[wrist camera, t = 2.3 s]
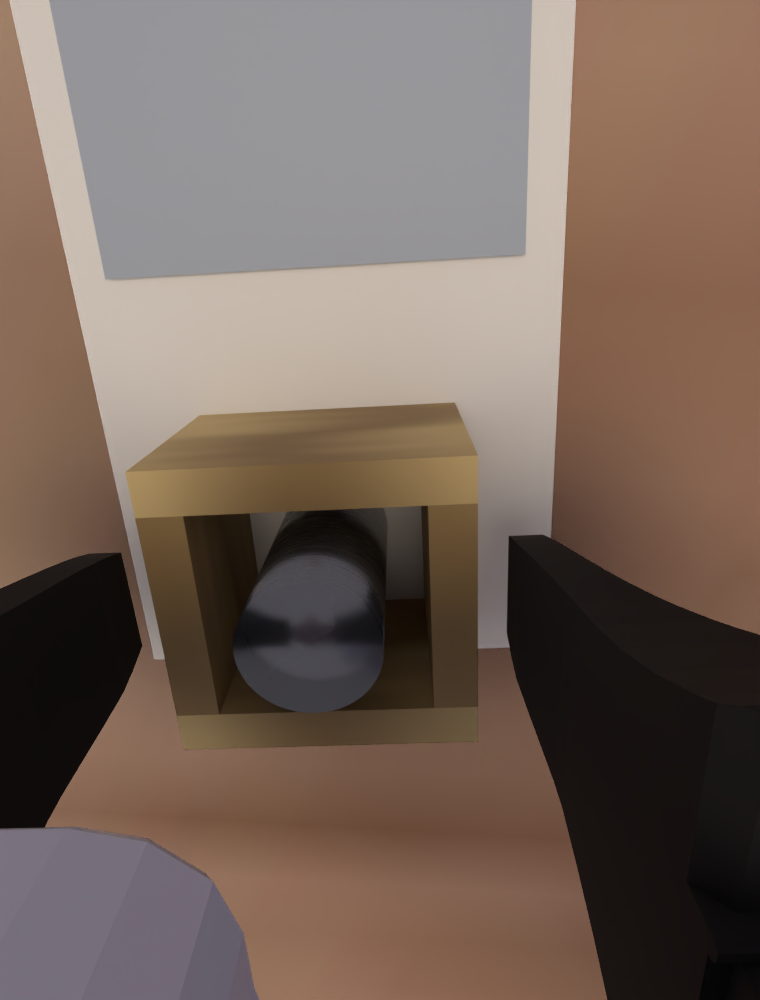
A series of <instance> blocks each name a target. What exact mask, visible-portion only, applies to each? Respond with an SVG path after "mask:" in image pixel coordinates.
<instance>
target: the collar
mask: <svg viewBox="0 0 760 1000" xmlns="http://www.w3.org/2000/svg"><path fill="white" fill-rule="evenodd" d="M125 474H126V478H127V483H128V488H129V493H130V497H131V502H132V507H133V511H134V516H135V521H136V526H137V530H138V535H139V540H140V544H141V549H142V554H143V559H144V563H145V568H146V573H147V577H148V582H149V587H150V591H151V596H152V601H153V606H154V610H155V615H156V620H157V624H158V629H159V634H160V639H161V643H162V648H163V653H164V657H165V662H166V667H167V671H168V676H169V681H170V686H171V690H172V695H173V700H174V704H175V709H176V714H177V719H178V723H179V728H180V733H181V737H182V742H183V747H184V750H189V749H226V748H262V747H299V746H335V745H371V744H408V743H444V742H478V454H477V452H476V450H475V448H474V445H473V443H472V441H471V438H470V436H469V434H468V432H467V429H466V427H465V425H464V422H463V420H462V418H461V416H460V413H459V411H458V409H457V406H456V404H455V402H454V403H434V404H414V405H394V406H374V407H354V408H334V409H314V410H294V411H274V412H254V413H234V414H214V415H199V416H198V417H197V418H195V419H194V420H193V421H191V422H190V423H189V424H187V425H186V426H185V427H183V428H182V429H181V430H180V431H178V432H177V433H176V434H174V435H173V436H172V437H170V438H169V439H168V440H166V441H165V442H164V443H163V444H161V445H160V446H159V447H157V448H156V449H155V450H153V451H152V452H151V453H149V454H148V455H147V456H145V457H144V458H143V459H142V460H140V461H139V462H138V463H136V464H135V465H134V466H132V467H131V468H130V469H128V470H127V471H126V472H125ZM407 506H421V514H422V543H423V572H424V598H422V599H395V600H385V632H384V659H383V665H382V668H381V671H380V674H379V676H378V678H377V680H376V681H375V683H374V684H373V686H372V687H371V688H370V689H369V690H368V691H367V692H366V693H365V694H364V695H363V696H362V697H361V698H359V699H358V700H356V701H355V702H353V703H351V704H349V705H347V706H345V707H343V708H340V709H337V710H333V711H328V712H321V713H304V712H296V711H292V710H288V709H285V708H282V707H279V706H277V705H275V704H273V703H271V702H269V701H267V700H266V699H264V698H263V697H261V696H260V695H259V694H257V693H256V692H255V691H254V690H253V689H252V688H251V687H250V686H249V685H248V684H247V682H246V681H245V680H244V679H243V677H242V675H241V674H240V672H239V670H238V667H237V665H236V662H235V658H234V654H233V636H234V632H235V628H236V625H237V623H238V621H239V618H240V616H241V614H242V611H243V609H244V607H245V605H246V602H247V600H248V598H249V596H250V593H251V591H252V589H253V587H254V584H255V582H256V580H257V578H258V570H257V563H256V555H255V548H254V541H253V534H252V527H251V520H250V513H269V512H292V511H315V510H338V509H361V508H384V507H407Z"/></svg>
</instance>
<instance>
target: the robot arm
mask: <svg viewBox="0 0 760 1000" xmlns="http://www.w3.org/2000/svg"><path fill="white" fill-rule="evenodd" d="M507 637H508V642H509V647H510V651H511V656H512V661H513V665H514V670H515V674H516V678H517V681H518V684H519V687H520V690H521V693H522V695H523V698H524V701H525V704H526V706H527V709H528V712H529V715H530V717H531V720H532V723H533V726H534V728H535V731H536V734H537V736H538V739H539V742H540V745H541V747H542V750H543V753H544V755H545V758H546V761H547V764H548V766H549V769H550V772H551V774H552V777H553V780H554V783H555V786H556V789H557V792H558V795H559V799H560V802H561V805H562V808H563V812H564V816H565V820H566V824H567V828H568V832H569V836H570V840H571V844H572V848H573V852H574V856H575V860H576V864H577V868H578V872H579V876H580V881H581V885H582V889H583V893H584V898H585V902H586V906H587V910H588V914H589V919H590V923H591V927H592V931H593V936H594V940H595V945H596V949H597V954H598V959H599V963H600V968H601V972H602V977H603V981H604V986H605V990H606V995H607V999H608V1000H760V635H758V634H755V633H751V632H748V631H745V630H742V629H738V628H735V627H732V626H729V625H726V624H723V623H721V622H718V621H715V620H712V619H709V618H707V617H704V616H702V615H699V614H697V613H694V612H692V611H689V610H687V609H684V608H682V607H679V606H677V605H674V604H672V603H670V602H667V601H665V600H663V599H661V598H658V597H656V596H654V595H652V594H650V593H648V592H646V591H644V590H642V589H640V588H638V587H636V586H634V585H632V584H630V583H628V582H626V581H624V580H622V579H621V578H619V577H617V576H615V575H613V574H611V573H610V572H608V571H606V570H604V569H603V568H601V567H599V566H597V565H596V564H594V563H592V562H591V561H589V560H587V559H585V558H584V557H582V556H580V555H579V554H577V553H575V552H574V551H572V550H570V549H569V548H567V547H565V546H564V545H562V544H560V543H559V542H557V541H555V540H553V539H551V538H549V537H547V536H545V535H519V536H509V542H508V590H507ZM141 648H142V643H141V639H140V634H139V630H138V625H137V621H136V617H135V612H134V608H133V603H132V599H131V595H130V590H129V586H128V581H127V577H126V573H125V568H124V564H123V559H122V555H121V553H98V554H87V555H83V556H79V557H76V558H73V559H70V560H67V561H64V562H62V563H59V564H57V565H54V566H52V567H49V568H47V569H44V570H42V571H40V572H37V573H35V574H33V575H31V576H28V577H26V578H24V579H21V580H19V581H17V582H15V583H12V584H10V585H8V586H6V587H3V588H1V589H0V1000H259V998H258V996H257V993H256V991H255V988H254V984H253V979H252V974H251V969H250V964H249V959H248V954H247V949H246V943H245V938H244V933H243V932H242V930H241V928H240V926H239V925H238V923H237V921H236V920H235V918H234V916H233V915H232V913H231V911H230V910H229V908H228V906H227V904H226V903H225V901H224V899H223V898H222V896H221V894H220V893H219V891H218V889H217V888H216V886H215V884H214V882H213V881H212V880H211V879H210V878H209V877H208V876H207V874H206V873H204V872H202V871H201V870H199V869H198V868H196V867H194V866H193V865H191V864H189V863H188V862H186V861H184V860H183V859H181V858H179V857H178V856H176V855H174V854H173V853H171V852H170V851H168V850H166V849H165V848H163V847H161V846H160V845H158V844H156V843H155V842H153V841H151V840H150V839H147V838H141V837H135V836H129V835H123V834H118V833H112V832H106V831H100V830H94V829H88V828H82V827H49V828H44V827H45V825H46V823H47V821H48V819H49V818H50V816H51V814H52V812H53V810H54V808H55V807H56V805H57V803H58V801H59V799H60V797H61V796H62V794H63V792H64V791H65V789H66V787H67V786H68V784H69V782H70V781H71V779H72V777H73V776H74V774H75V772H76V771H77V769H78V768H79V766H80V764H81V763H82V761H83V759H84V758H85V756H86V754H87V753H88V751H89V749H90V748H91V746H92V744H93V743H94V741H95V739H96V738H97V736H98V734H99V733H100V731H101V730H102V728H103V726H104V724H105V723H106V721H107V719H108V718H109V716H110V714H111V713H112V711H113V709H114V708H115V706H116V704H117V702H118V701H119V699H120V697H121V695H122V694H123V692H124V690H125V687H126V685H127V683H128V680H129V678H130V676H131V674H132V671H133V669H134V666H135V663H136V661H137V658H138V656H139V653H140V650H141Z"/></svg>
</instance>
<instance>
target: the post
mask: <svg viewBox="0 0 760 1000" xmlns="http://www.w3.org/2000/svg"><path fill="white" fill-rule="evenodd" d="M387 527H388V524H387V517H386V514H385V511H384V509H383V508H361V509H338V510H315V511H292V512H286V514H285V516H284V519H283V521H282V523H281V526H280V528H279V530H278V532H277V535H276V537H275V539H274V541H273V544H272V546H271V548H270V550H269V553H268V555H267V557H266V559H265V562H264V564H263V566H262V568H261V571H260V573H259V575H258V578H257V580H256V582H255V584H254V587H253V589H252V591H251V593H250V596H249V598H248V600H247V602H246V605H245V607H244V609H243V611H242V614H241V616H240V618H239V621H238V623H237V625H236V628H235V632H234V636H233V654H234V658H235V662H236V665H237V667H238V670H239V672H240V674H241V675H242V677H243V679H244V680H245V681H246V682H247V684H248V685H249V686H250V687H251V688H252V689H253V690H254V691H255V692H256V693H257V694H259V695H260V696H261V697H263V698H264V699H266V700H267V701H269V702H271V703H273V704H275V705H277V706H279V707H282V708H285V709H288V710H292V711H296V712H304V713H321V712H328V711H333V710H337V709H340V708H343V707H345V706H347V705H349V704H351V703H353V702H355V701H356V700H358V699H359V698H361V697H362V696H363V695H364V694H365V693H366V692H367V691H368V690H369V689H370V688H371V687H372V686H373V684H374V683H375V681H376V680H377V678H378V676H379V674H380V671H381V668H382V665H383V659H384V632H385V597H386V563H387Z"/></svg>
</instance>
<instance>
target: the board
mask: <svg viewBox="0 0 760 1000" xmlns="http://www.w3.org/2000/svg"><path fill="white" fill-rule="evenodd" d="M10 5H11V9H12V14H13V19H14V23H15V28H16V32H17V37H18V41H19V46H20V50H21V55H22V60H23V64H24V69H25V73H26V78H27V82H28V87H29V91H30V96H31V101H32V105H33V110H34V114H35V119H36V123H37V128H38V132H39V137H40V141H41V146H42V151H43V155H44V160H45V164H46V169H47V173H48V178H49V182H50V187H51V192H52V196H53V201H54V205H55V210H56V214H57V219H58V223H59V228H60V233H61V237H62V242H63V246H64V251H65V255H66V260H67V264H68V269H69V273H70V278H71V283H72V287H73V292H74V296H75V301H76V305H77V310H78V314H79V319H80V324H81V328H82V333H83V337H84V342H85V346H86V351H87V355H88V360H89V365H90V369H91V374H92V378H93V383H94V387H95V392H96V396H97V401H98V405H99V410H100V415H101V419H102V424H103V428H104V433H105V437H106V442H107V446H108V451H109V456H110V460H111V465H112V469H113V474H114V478H115V483H116V487H117V492H118V497H119V501H120V506H121V510H122V515H123V519H124V524H125V528H126V533H127V537H128V542H129V547H130V551H131V556H132V560H133V565H134V569H135V574H136V578H137V583H138V588H139V592H140V597H141V601H142V606H143V610H144V615H145V619H146V624H147V629H148V633H149V638H150V642H151V647H152V651H153V656H154V660H156V659H165V657H164V653H163V648H162V643H161V639H160V634H159V629H158V624H157V620H156V615H155V610H154V606H153V601H152V596H151V591H150V587H149V582H148V577H147V573H146V568H145V563H144V559H143V554H142V549H141V544H140V540H139V535H138V530H137V526H136V521H135V516H134V511H133V507H132V502H131V497H130V493H129V488H128V483H127V478H126V474H125V472H126V471H127V470H128V469H130V468H131V467H132V466H134V465H135V464H136V463H138V462H139V461H140V460H142V459H143V458H144V457H145V456H147V455H148V454H149V453H151V452H152V451H153V450H155V449H156V448H157V447H159V446H160V445H161V444H163V443H164V442H165V441H166V440H168V439H169V438H170V437H172V436H173V435H174V434H176V433H177V432H178V431H180V430H181V429H182V428H183V427H185V426H186V425H187V424H189V423H190V422H191V421H193V420H194V419H195V418H197V417H198V416H199V415H214V414H234V413H254V412H274V411H294V410H314V409H334V408H354V407H374V406H394V405H414V404H434V403H454V402H455V404H456V406H457V409H458V411H459V413H460V416H461V418H462V420H463V422H464V425H465V427H466V429H467V432H468V434H469V436H470V438H471V441H472V443H473V445H474V448H475V450H476V452H477V454H478V649H482V648H510V647H509V642H508V637H507V590H508V542H509V536H519V535H545V536H547V537H549V538H551V524H552V502H553V481H554V460H555V438H556V417H557V395H558V374H559V352H560V331H561V309H562V288H563V267H564V245H565V224H566V202H567V181H568V159H569V138H570V117H571V95H572V74H573V52H574V31H575V9H576V0H10ZM383 509H384V511H385V514H386V517H387V524H388V527H387V563H386V597H385V600H395V599H422V598H424V572H423V543H422V514H421V506H407V507H384V508H383ZM285 514H286V512H269V513H250V520H251V527H252V534H253V541H254V548H255V555H256V563H257V570H258V575H259V573H260V571H261V568H262V566H263V564H264V562H265V559H266V557H267V555H268V553H269V550H270V548H271V546H272V544H273V541H274V539H275V537H276V535H277V532H278V530H279V528H280V526H281V523H282V521H283V519H284V516H285Z"/></svg>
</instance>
